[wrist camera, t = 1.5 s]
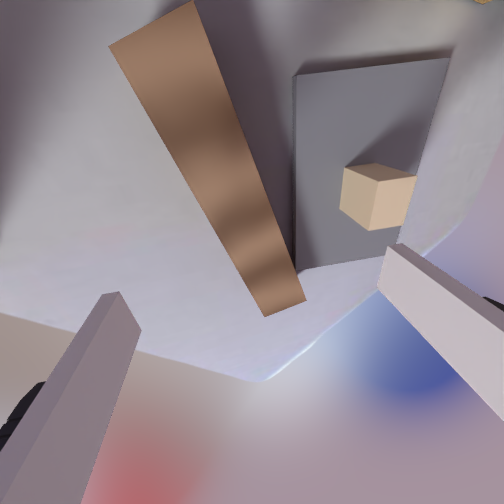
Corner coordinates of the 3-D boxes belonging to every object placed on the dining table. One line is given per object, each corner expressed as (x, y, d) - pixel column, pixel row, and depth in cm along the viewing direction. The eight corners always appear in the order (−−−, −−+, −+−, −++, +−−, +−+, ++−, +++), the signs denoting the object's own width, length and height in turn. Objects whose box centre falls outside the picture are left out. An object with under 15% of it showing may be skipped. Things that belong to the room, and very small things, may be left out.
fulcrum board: (292, 77, 17) (326, 61, 12) (439, 59, 17) (530, 38, 12) (293, 265, 26) (311, 301, 21) (387, 249, 27) (425, 280, 22)
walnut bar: (134, 63, 15) (108, 46, 12) (198, 28, 15) (192, -1, 11) (257, 290, 28) (264, 317, 24) (294, 275, 28) (306, 300, 24)
